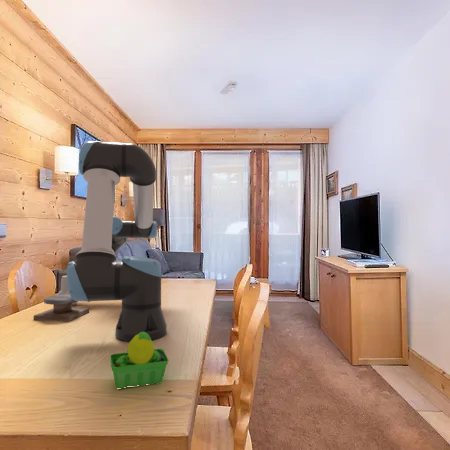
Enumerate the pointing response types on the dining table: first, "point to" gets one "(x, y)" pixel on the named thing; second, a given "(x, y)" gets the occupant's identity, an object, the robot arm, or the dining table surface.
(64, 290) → the beverage can
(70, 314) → the pedestal stand
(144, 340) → the fruit basket
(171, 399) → the dining table surface
